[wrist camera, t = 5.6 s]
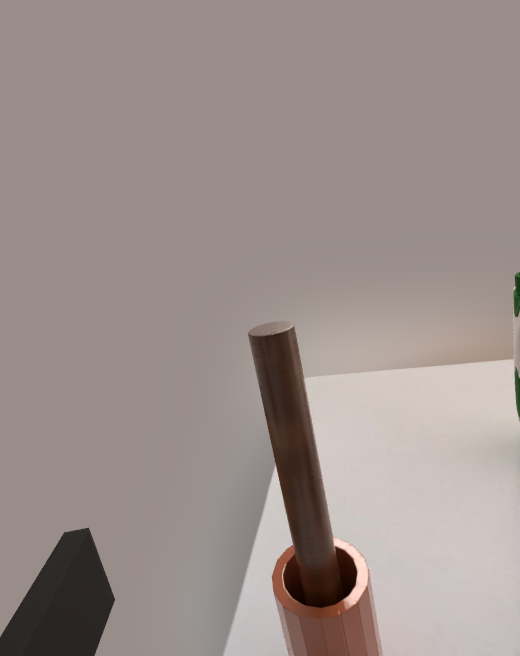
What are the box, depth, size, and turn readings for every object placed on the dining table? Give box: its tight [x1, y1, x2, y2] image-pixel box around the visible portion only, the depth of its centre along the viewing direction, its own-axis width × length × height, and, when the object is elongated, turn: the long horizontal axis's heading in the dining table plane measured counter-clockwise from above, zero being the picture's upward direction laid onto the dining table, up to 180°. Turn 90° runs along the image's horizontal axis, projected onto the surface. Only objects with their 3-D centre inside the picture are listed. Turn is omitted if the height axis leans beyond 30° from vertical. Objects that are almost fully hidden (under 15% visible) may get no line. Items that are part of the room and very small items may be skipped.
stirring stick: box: [248, 321, 344, 608], centre depth 24 cm, size 3×3×24 cm
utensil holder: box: [272, 537, 383, 656], centre depth 26 cm, size 6×6×9 cm
